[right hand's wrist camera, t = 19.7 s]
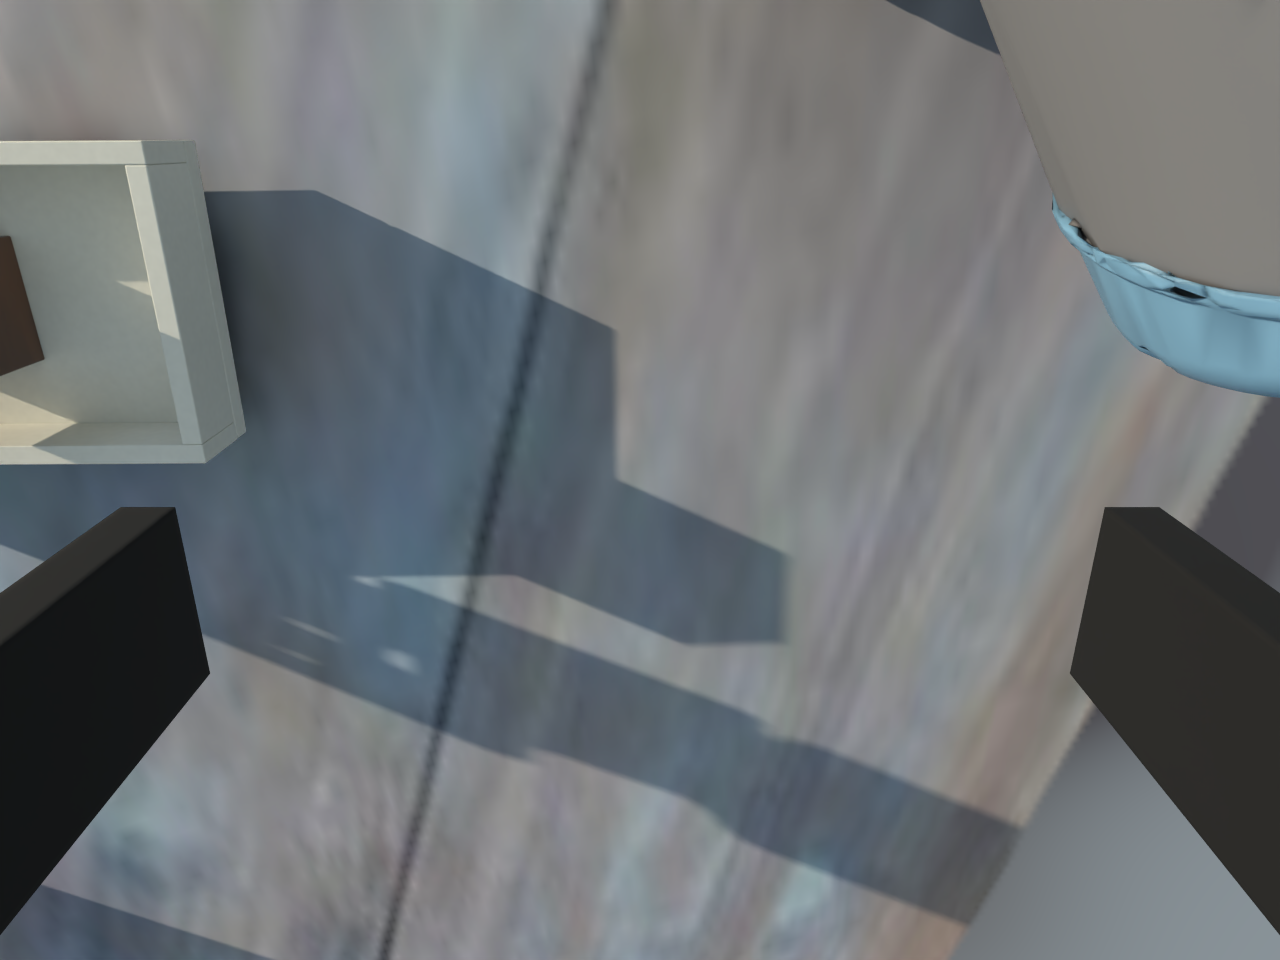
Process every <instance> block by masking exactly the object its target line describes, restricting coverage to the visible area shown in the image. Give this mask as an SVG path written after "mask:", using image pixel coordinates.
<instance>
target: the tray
mask: <svg viewBox="0 0 1280 960" xmlns="http://www.w3.org/2000/svg"><path fill="white" fill-rule="evenodd" d="M0 236H10V237H11V240H12V243H13V247H14V250H15V254H16V257H17V261H18V265H19V268H20V272H21V275H22V279H23V283H24V286H25V290H26V293H27V297H28V301H29V304H30V308H31V311H32V315H33V319H34V322H35V326H36V329H37V333H38V337H39V340H40V344H41V347H42V351H43V355H44V360H42V361H39V362H37V363H34V364H31V365H29V366H26V367H24V368H21V369H18V370H16V371H13V372H10V373H8V374H5V375H2V376H0V465H32V464H182V463H207V462H208V461H209V460H211V459H212V458H213V457H215V456H216V455H217V454H219V453H220V452H221V451H223V450H224V449H225V448H227V447H228V446H229V445H230V444H232V443H233V442H234V441H236V440H237V438H239V437H240V436H242V435H243V434H244V433H246V426H245V421H244V415H243V410H242V404H241V398H240V393H239V387H238V382H237V376H236V370H235V365H234V359H233V353H232V348H231V342H230V337H229V331H228V325H227V320H226V314H225V309H224V303H223V297H222V292H221V286H220V280H219V275H218V269H217V264H216V258H215V252H214V247H213V241H212V236H211V230H210V224H209V219H208V213H207V207H206V202H205V196H204V191H203V185H202V179H201V174H200V168H199V163H198V157H197V151H196V146H195V142H194V141H193V140H118V141H0Z"/></svg>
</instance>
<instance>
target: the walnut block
mask: <svg viewBox="0 0 1280 960" xmlns="http://www.w3.org/2000/svg"><path fill="white" fill-rule="evenodd" d="M42 360H44V355H43V351H42V347H41V344H40V340H39V337H38V333H37V329H36V326H35V322H34V319H33V315H32V311H31V308H30V304H29V301H28V297H27V293H26V290H25V286H24V283H23V279H22V275H21V272H20V268H19V265H18V261H17V257H16V254H15V250H14V247H13V243H12V240H11V237H10V236H0V376H2V375H5V374H8V373H10V372H13V371H16V370H18V369H21V368H24V367H26V366H29V365H31V364H34V363H37V362H39V361H42Z"/></svg>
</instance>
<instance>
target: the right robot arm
mask: <svg viewBox="0 0 1280 960" xmlns="http://www.w3.org/2000/svg"><path fill="white" fill-rule="evenodd" d="M980 2H981V4H982V7H983V10H984V12H985V15H986V18H987V20H988V23H989V25H990V28H991V31H992V33H993V36H994V39H995V41H996V44H997V47H998V49H999V52H1000V55H1001V57H1002V60H1003V62H1004V65H1005V68H1006V70H1007V73H1008V76H1009V78H1010V81H1011V84H1012V86H1013V89H1014V92H1015V94H1016V97H1017V99H1018V102H1019V105H1020V107H1021V110H1022V113H1023V115H1024V118H1025V121H1026V123H1027V126H1028V129H1029V131H1030V134H1031V137H1032V139H1033V142H1034V144H1035V147H1036V150H1037V152H1038V155H1039V158H1040V160H1041V163H1042V166H1043V168H1044V171H1045V174H1046V176H1047V179H1048V181H1049V184H1050V187H1051V189H1052V193H1053V203H1052V211H1053V214H1054V217H1055V219H1056V222H1057V224H1058V226H1059V228H1060V230H1061V231H1062V233H1063V234H1064V235H1065V237H1066V238H1067V239H1068V241H1069V242H1070V243H1071V244H1072V245H1073V246H1074V247H1075V248H1077V249H1078V250H1079V251H1080V253H1081V255H1082V257H1083V259H1084V262H1085V264H1086V266H1087V268H1088V270H1089V273H1090V275H1091V277H1092V279H1093V281H1094V284H1095V286H1096V288H1097V290H1098V292H1099V295H1100V297H1101V299H1102V301H1103V303H1104V306H1105V308H1106V310H1107V312H1108V314H1109V316H1110V318H1111V319H1112V321H1113V323H1114V324H1115V326H1116V327H1117V328H1118V329H1119V331H1120V332H1121V333H1122V334H1123V336H1124V337H1125V338H1126V339H1127V340H1128V341H1129V342H1130V343H1131V344H1132V345H1133V346H1134V347H1136V348H1137V349H1138V350H1139V351H1141V352H1143V353H1146V354H1148V355H1150V356H1152V357H1154V358H1157V359H1160V360H1161V361H1162V362H1163V363H1165V364H1166V365H1167V366H1169V367H1171V368H1173V369H1174V370H1175V371H1176V372H1177V373H1180V374H1182V375H1184V376H1187V377H1189V378H1191V379H1195V380H1198V381H1201V382H1204V383H1207V384H1210V385H1214V386H1218V387H1222V388H1226V389H1231V390H1235V391H1240V392H1244V393H1250V394H1256V395H1262V396H1270V397H1278V398H1280V0H980ZM209 674H210V671H209V666H208V661H207V657H206V652H205V647H204V642H203V638H202V633H201V628H200V623H199V619H198V614H197V609H196V604H195V600H194V595H193V590H192V585H191V581H190V576H189V571H188V566H187V562H186V557H185V552H184V547H183V543H182V538H181V533H180V528H179V524H178V519H177V514H176V509H175V507H120V508H119V509H118V510H116V511H115V512H113V513H112V514H111V515H109V516H108V517H106V518H105V519H104V520H102V521H101V522H99V523H98V524H97V525H95V526H94V527H92V528H91V529H90V530H88V531H87V532H85V533H84V534H83V535H81V536H80V537H78V538H77V539H76V540H74V541H73V542H71V543H70V544H69V545H67V546H66V547H64V548H63V549H62V550H60V551H59V552H57V553H56V554H54V555H53V556H52V557H50V558H49V559H47V560H46V561H45V562H43V563H42V564H40V565H39V566H38V567H36V568H35V569H33V570H32V571H31V572H29V573H28V574H26V575H25V576H24V577H22V578H21V579H19V580H18V581H17V582H15V583H14V584H12V585H11V586H10V587H8V588H7V589H5V590H4V591H3V592H1V593H0V935H1V933H2V932H3V931H4V930H5V928H6V927H7V926H8V925H9V923H10V922H11V921H12V920H13V918H14V917H15V916H16V915H17V913H18V912H19V911H20V910H21V908H22V907H23V906H24V905H25V903H26V902H27V901H28V900H29V898H30V897H31V896H32V895H33V893H34V892H35V891H36V890H37V889H38V887H39V886H40V885H41V884H42V882H43V881H44V880H45V879H46V877H47V876H48V875H49V874H50V872H51V871H52V870H53V869H54V867H55V866H56V865H57V864H58V862H59V861H60V860H61V859H62V857H63V856H64V855H65V854H66V852H67V851H68V850H69V849H70V847H71V846H72V845H73V844H74V842H75V841H76V840H77V839H78V837H79V836H80V835H81V834H82V832H83V831H84V830H85V829H86V827H87V826H88V825H89V824H90V822H91V821H92V820H93V819H94V817H95V816H96V815H97V814H98V812H99V811H100V810H101V809H102V807H103V806H104V805H105V804H106V802H107V801H108V800H109V799H110V798H111V796H112V795H113V794H114V793H115V791H116V790H117V789H118V788H119V786H120V785H121V784H122V783H123V781H124V780H125V779H126V778H127V776H128V775H129V774H130V773H131V771H132V770H133V769H134V768H135V766H136V765H137V764H138V763H139V761H140V760H141V759H142V758H143V756H144V755H145V754H146V753H147V751H148V750H149V749H150V748H151V746H152V745H153V744H154V743H155V741H156V740H157V739H158V738H159V736H160V735H161V734H162V733H163V731H164V730H165V729H166V728H167V726H168V725H169V724H170V723H171V721H172V720H173V719H174V718H175V716H176V715H177V714H178V713H179V712H180V710H181V709H182V708H183V707H184V705H185V704H186V703H187V702H188V700H189V699H190V698H191V697H192V695H193V694H194V693H195V692H196V690H197V689H198V688H199V687H200V685H201V684H202V683H203V682H204V680H205V679H206V678H207V677H208V675H209ZM1070 674H1071V675H1072V677H1073V678H1074V679H1075V680H1076V682H1077V683H1078V684H1079V685H1080V687H1081V688H1082V689H1083V690H1084V692H1085V693H1086V694H1087V695H1088V697H1089V698H1090V699H1091V700H1092V702H1093V703H1094V704H1095V705H1096V707H1097V708H1098V709H1099V710H1100V711H1101V713H1102V714H1103V715H1104V716H1105V718H1106V719H1107V720H1108V721H1109V723H1110V724H1111V725H1112V726H1113V728H1114V729H1115V730H1116V731H1117V733H1118V734H1119V735H1120V736H1121V738H1122V739H1123V740H1124V741H1125V743H1126V744H1127V745H1128V746H1129V748H1130V749H1131V750H1132V751H1133V753H1134V754H1135V755H1136V756H1137V758H1138V759H1139V760H1140V761H1141V763H1142V764H1143V765H1144V766H1145V768H1146V769H1147V770H1148V771H1149V773H1150V774H1151V775H1152V776H1153V778H1154V779H1155V780H1156V781H1157V783H1158V784H1159V785H1160V786H1161V787H1162V789H1163V790H1164V791H1165V793H1166V794H1167V795H1168V796H1169V797H1170V799H1171V800H1172V801H1173V802H1174V804H1175V805H1176V806H1177V807H1178V809H1179V810H1180V811H1181V812H1182V814H1183V815H1184V816H1185V817H1186V819H1187V820H1188V821H1189V822H1190V824H1191V825H1192V826H1193V827H1194V829H1195V830H1196V831H1197V832H1198V834H1199V835H1200V836H1201V837H1202V839H1203V840H1204V841H1205V842H1206V844H1207V845H1208V846H1209V847H1210V849H1211V850H1212V851H1213V852H1214V854H1215V855H1216V856H1217V857H1218V859H1219V860H1220V861H1221V862H1222V863H1223V865H1224V866H1225V867H1226V869H1227V870H1228V871H1229V872H1230V874H1231V875H1232V876H1233V877H1234V878H1235V880H1236V881H1237V882H1238V884H1239V885H1240V886H1241V887H1242V888H1243V890H1244V891H1245V892H1246V893H1247V895H1248V896H1249V897H1250V898H1251V900H1252V901H1253V902H1254V903H1255V905H1256V906H1257V907H1258V908H1259V910H1260V911H1261V912H1262V913H1263V915H1264V916H1265V917H1266V918H1267V920H1268V921H1269V922H1270V923H1271V925H1272V926H1273V927H1274V928H1275V930H1276V931H1277V932H1278V933H1279V935H1280V593H1279V592H1277V591H1276V590H1275V589H1273V588H1272V587H1270V586H1269V585H1267V584H1266V583H1265V582H1263V581H1262V580H1261V579H1259V578H1258V577H1256V576H1255V575H1254V574H1252V573H1251V572H1249V571H1248V570H1247V569H1245V568H1244V567H1242V566H1241V565H1240V564H1238V563H1237V562H1235V561H1234V560H1233V559H1231V558H1230V557H1228V556H1227V555H1225V554H1224V553H1223V552H1221V551H1220V550H1218V549H1217V548H1216V547H1214V546H1213V545H1211V544H1210V543H1209V542H1207V541H1206V540H1204V539H1203V538H1202V537H1200V536H1199V535H1197V534H1196V533H1195V532H1193V531H1192V530H1190V529H1189V528H1188V527H1186V526H1185V525H1183V524H1182V523H1181V522H1179V521H1178V520H1176V519H1175V518H1174V517H1172V516H1171V515H1169V514H1168V513H1167V512H1165V511H1164V510H1162V509H1161V508H1160V507H1105V509H1104V514H1103V519H1102V524H1101V528H1100V533H1099V538H1098V543H1097V547H1096V552H1095V557H1094V562H1093V566H1092V571H1091V576H1090V581H1089V585H1088V590H1087V595H1086V600H1085V604H1084V609H1083V614H1082V619H1081V623H1080V628H1079V633H1078V638H1077V642H1076V647H1075V652H1074V657H1073V661H1072V666H1071V671H1070Z"/></svg>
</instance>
